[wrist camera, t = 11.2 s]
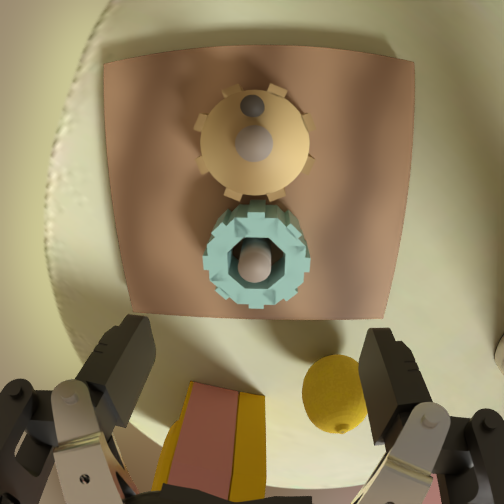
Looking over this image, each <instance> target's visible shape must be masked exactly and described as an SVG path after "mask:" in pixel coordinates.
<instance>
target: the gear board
mask: <svg viewBox="0 0 504 504" xmlns="http://www.w3.org/2000/svg"><path fill="white" fill-rule="evenodd" d="M414 104H415V69H414V62H411V61H407V60H402V59H398V58H393V57H387V56H382V55H376V54H370V53H364V52H357V51H350V50H342V49H333V48H322V47H309V46H291V45H235V46H217V47H204V48H194V49H184V50H176V51H169V52H162V53H156V54H150V55H144V56H138V57H133V58H128V59H124V60H119V61H114V62H110V63H106V64H104V114H105V133H106V147H107V159H108V169H109V179H110V187H111V196H112V203H113V210H114V217H115V224H116V230H117V236H118V242H119V247H120V253H121V258H122V263H123V268H124V273H125V278H126V282H127V287H128V292H129V296H130V300H131V304H132V309H133V312H140V313H152V314H165V315H179V316H195V317H213V318H236V319H269V320H351V319H383V317H384V313H385V309H386V305H387V301H388V297H389V293H390V289H391V284H392V280H393V275H394V271H395V266H396V261H397V256H398V251H399V246H400V240H401V235H402V229H403V223H404V216H405V210H406V203H407V195H408V187H409V178H410V169H411V158H412V146H413V130H414ZM250 200H266V205H277V206H278V207H279V208H280V209H281V210H282V211H283V212H284V213H285V212H286V211H287V210H289V211H290V212H291V213H292V214H293V215H294V216H295V217H296V218H297V219H298V221H299V225H300V229H301V230H302V231H303V235H304V239H305V240H306V242H307V246H308V250H309V253H310V257H311V260H310V271H309V272H304V280H303V281H304V282H303V283H302V284H301V285H300V286H298V287H297V289H298V293H297V294H296V295H294V296H293V297H292V298H290V299H289V300H288V301H285V300H284V299H282V300H281V301H279V302H278V303H277V304H275V305H264V309H252V308H249V304H237V303H236V302H235V301H233V300H232V299H231V298H230V297H229V298H228V299H227V300H225V299H224V298H223V297H222V296H221V295H219V294H218V293H217V292H216V291H215V288H216V285H214V284H213V283H212V282H211V281H210V280H209V270H204V268H203V254H204V251H205V249H206V247H207V243H208V241H209V239H210V237H211V235H212V234H211V232H212V230H213V228H214V226H215V224H216V222H217V220H218V218H219V217H220V216H221V215H222V214H223V213H224V212H225V211H226V210H227V209H229V210H230V211H231V212H232V211H233V210H234V209H235V208H236V207H237V206H238V205H239V204H242V205H249V204H250ZM233 256H234V257H235V258H237V259H238V260H239V263H238V272H239V274H240V276H241V277H242V278H243V279H244V280H246V281H248V282H253V283H257V282H261V281H263V280H265V279H266V278H267V277H268V276H269V274H270V272H271V266H272V265H273V264H275V263H276V262H277V261H278V260H279V259H280V258H282V257H283V251H282V250H281V249H280V248H279V247H278V246H277V245H276V244H275V243H274V242H273V241H272V240H271V239H269V238H258V237H244V238H242V239H241V240H240V241H239V242H238V243H237V244H236V245H235V246H234V247H233Z"/></svg>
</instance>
